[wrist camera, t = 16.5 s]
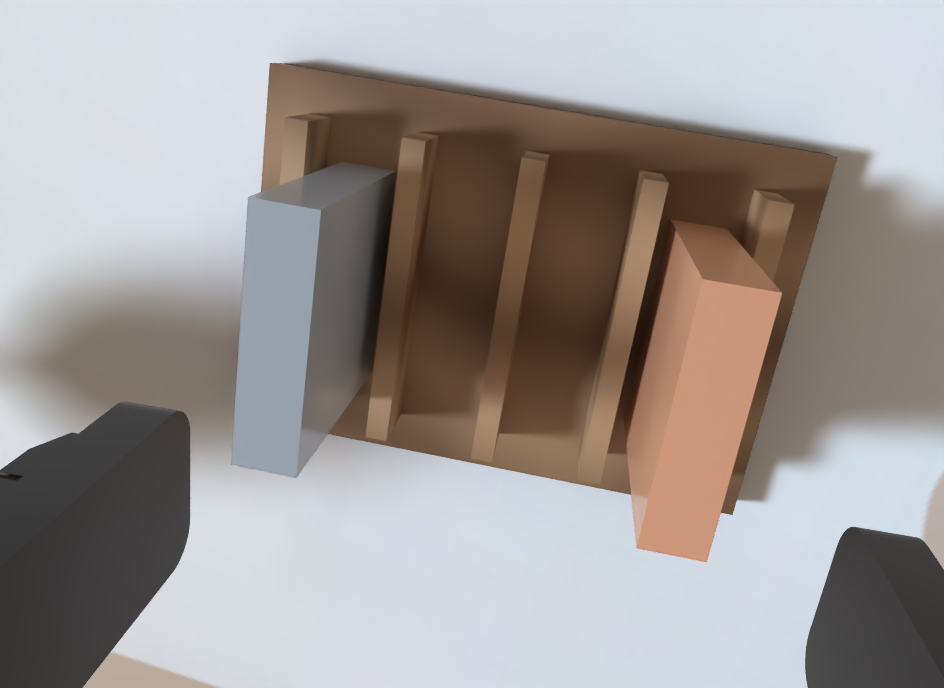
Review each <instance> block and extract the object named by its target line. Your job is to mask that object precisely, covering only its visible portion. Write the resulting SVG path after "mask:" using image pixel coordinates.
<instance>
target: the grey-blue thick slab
mask: <svg viewBox="0 0 944 688" xmlns="http://www.w3.org/2000/svg"><path fill="white" fill-rule="evenodd" d="M395 174H396V171H393V170H388V169H382V168H376V167H370V166H365V165H359V164H353V163H347V162H341V163H338V164H335V165H333V166H330V167H327V168H325V169H322V170H319V171H317V172H314V173H311V174H308V175H306V176H303V177H300V178H298V179H295V180H292V181H290V182H287V183H284V184H282V185H279V186H276V187H274V188H271V189H268V190H266V191H263V192H260V193H258V194H255V195H252V196H250V197H248V207H247V222H246V238H245V254H244V270H243V285H242V301H241V317H240V333H239V348H238V364H237V380H236V396H235V411H234V427H233V443H232V459H231V465H236V466H241V467H246V468H251V469H256V470H260V471H265V472H270V473H275V474H280V475H285V476H290V477H295V478H296V477H297V476H298V475H299V473H300V472H301V470H302V469H303V468H304V466H305V465H306V463H307V462H308V461H309V459H310V458H311V456H312V455H313V454H314V452H315V451H316V450H317V448H318V447H319V445H320V444H321V443H322V441H323V440H324V438H325V437H326V436H327V434H328V433H329V431H330V430H331V429H332V427H333V426H334V424H335V423H336V422H337V420H338V419H339V418H340V416H341V415H342V413H343V412H344V411H345V409H346V408H347V406H348V405H349V404H350V402H351V401H352V399H353V398H354V397H355V395H356V394H357V392H358V391H359V390H360V388H361V387H362V385H363V384H364V383H365V381H366V380H367V379H368V377H369V376H370V374H371V372H372V364H373V356H374V348H375V339H376V331H377V323H378V314H379V306H380V298H381V290H382V281H383V273H384V265H385V257H386V248H387V240H388V232H389V224H390V215H391V207H392V199H393V190H394V182H395Z"/></svg>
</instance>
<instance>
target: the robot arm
mask: <svg viewBox="0 0 944 688" xmlns="http://www.w3.org/2000/svg"><path fill="white" fill-rule="evenodd" d="M189 526H190V426H189V421H188V418H187V416H186V415H185V413H184V412H181V411H177V410H171V409H165V408H159V407H153V406H147V405H141V404H135V403H129V402H121V403H119V404H117V405H115V406H114V407H113V408H111V409H110V410H109V411H108V412H106V413H105V414H104V415H102V416H101V417H100V418H98V419H97V420H96V421H95V422H93V423H92V424H91V425H89V426H88V427H87V428H85V429H84V430H83V431H81V432H80V433H79V434H77V433H69V434H67V435H64V436H62V437H59V438H57V439H54V440H51V441H49V442H46V443H44V444H41V445H38V446H36V447H33V448H31V449H29V450H27V451H26V452H24V453H23V454H22V455H20V456H19V457H18V458H16V459H15V460H13V461H12V462H11V463H9V464H8V465H7V466H5V467H4V468H2V469H1V470H0V688H83V686H84V685H85V684H86V682H87V681H88V680H89V679H90V677H91V676H92V675H93V673H94V672H95V671H96V670H97V668H98V667H99V666H100V665H101V663H102V662H103V661H104V659H105V658H106V657H107V656H108V654H109V653H110V652H111V650H112V649H113V648H114V647H115V645H116V644H117V643H118V642H119V640H120V639H121V638H122V636H123V635H124V634H125V633H126V631H127V630H128V629H129V627H130V626H131V625H132V624H133V622H134V621H135V620H136V619H137V617H138V616H139V615H140V613H141V612H142V611H143V610H144V608H145V607H146V606H147V605H148V603H149V602H150V601H151V599H152V598H153V597H154V596H155V594H156V593H157V592H158V590H159V589H160V588H161V587H162V585H163V584H164V583H165V582H166V580H167V579H168V578H169V576H170V575H171V574H172V573H173V571H174V570H175V568H176V566H177V565H178V563H179V561H180V559H181V556H182V554H183V551H184V548H185V545H186V542H187V538H188V533H189ZM805 670H806V681H807V686H808V688H944V570H943V568H942V566H941V565H940V564H939V562H938V561H937V559H936V558H935V556H934V555H933V553H932V552H931V550H930V549H929V547H928V546H927V545H926V543H925V542H924V541H923V540H921V539H920V538H916V537H911V536H905V535H899V534H893V533H887V532H881V531H875V530H869V529H863V528H858V527H850V528H848V529H847V530H846V531H845V532H844V533H843V535H842V536H841V538H840V540H839V543H838V545H837V548H836V551H835V554H834V557H833V561H832V564H831V567H830V570H829V573H828V576H827V579H826V582H825V585H824V588H823V592H822V595H821V598H820V601H819V604H818V607H817V610H816V613H815V616H814V619H813V623H812V626H811V629H810V632H809V636H808V640H807V646H806V657H805Z"/></svg>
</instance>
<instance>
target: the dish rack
mask: <svg viewBox="0 0 944 688" xmlns="http://www.w3.org/2000/svg"><path fill="white" fill-rule="evenodd" d="M836 159H837V157H834V156H831V155H829V154H824V153H818V152H812V151H806V150H800V149H794V148H788V147H782V146H776V145H770V144H764V143H758V142H752V141H746V140H740V139H734V138H728V137H722V136H716V135H710V134H703V133H697V132H691V131H685V130H679V129H673V128H667V127H661V126H655V125H649V124H643V123H637V122H631V121H625V120H619V119H613V118H607V117H601V116H595V115H589V114H583V113H577V112H571V111H565V110H559V109H553V108H547V107H541V106H535V105H529V104H523V103H517V102H511V101H505V100H499V99H493V98H487V97H481V96H475V95H469V94H463V93H457V92H451V91H445V90H439V89H433V88H427V87H421V86H415V85H408V84H402V83H396V82H390V81H384V80H378V79H372V78H366V77H360V76H354V75H348V74H342V73H336V72H330V71H324V70H318V69H312V68H306V67H300V66H294V65H288V64H282V63H270V69H269V84H268V99H267V113H266V128H265V142H264V157H263V172H262V186H261V192H263V191H266V190H268V189H271V188H274V187H276V186H279V185H282V184H284V183H287V182H290V181H292V180H295V179H298V178H300V177H303V176H306V175H308V174H311V173H314V172H317V171H319V170H322V169H325V168H327V167H330V166H333V165H335V164H338V163H341V162H347V163H353V164H359V165H365V166H370V167H376V168H382V169H388V170H393V171H396V174H395V182H394V190H393V199H392V207H391V215H390V224H389V232H388V240H387V248H386V257H385V265H384V273H383V281H382V290H381V298H380V306H379V314H378V323H377V331H376V339H375V348H374V356H373V364H372V372H371V374H370V376H369V377H368V379H367V380H366V381H365V383H364V384H363V385H362V387H361V388H360V390H359V391H358V392H357V394H356V395H355V397H354V398H353V399H352V401H351V402H350V404H349V405H348V406H347V408H346V409H345V411H344V412H343V413H342V415H341V416H340V418H339V419H338V420H337V422H336V423H335V424H334V426H333V427H332V429H331V430H330V431H329V433H328V434H332V435H337V436H342V437H346V438H351V439H356V440H361V441H366V442H371V443H376V444H381V445H386V446H391V447H396V448H401V449H406V450H411V451H416V452H421V453H426V454H431V455H436V456H441V457H446V458H451V459H456V460H461V461H466V462H471V463H476V464H481V465H486V466H491V467H496V468H501V469H506V470H511V471H516V472H521V473H526V474H531V475H536V476H541V477H546V478H551V479H556V480H561V481H566V482H571V483H576V484H581V485H586V486H591V487H596V488H601V489H606V490H611V491H616V492H621V493H625V494H630V495H631V487H630V477H629V467H628V457H627V446H626V436H625V426H624V421H625V416H626V412H627V408H628V403H629V399H630V395H631V390H632V386H633V381H634V377H635V373H636V368H637V364H638V359H639V355H640V351H641V346H642V342H643V337H644V333H645V329H646V324H647V320H648V315H649V311H650V307H651V302H652V298H653V293H654V289H655V285H656V280H657V276H658V271H659V267H660V263H661V258H662V254H663V249H664V245H665V241H666V236H667V232H668V227H669V223H670V219H672V220H678V221H684V222H690V223H696V224H702V225H708V226H714V227H720V228H726V229H728V231H729V232H730V233H731V234H732V235H733V236H734V238H735V239H736V240H737V241H738V242H739V243H740V244H741V246H742V247H743V248H744V249H745V250H746V251H747V253H748V254H749V255H750V256H751V257H752V258H753V260H754V261H755V262H756V263H757V264H758V265H759V267H760V268H761V269H762V270H763V271H764V272H765V273H766V275H767V276H768V277H769V278H770V279H771V280H772V282H773V283H774V284H775V285H776V286H777V287H778V289H779V290H780V291H781V292H782V296H781V299H780V303H779V307H778V310H777V314H776V317H775V321H774V324H773V328H772V331H771V335H770V339H769V342H768V346H767V349H766V353H765V356H764V360H763V364H762V367H761V371H760V374H759V378H758V381H757V385H756V389H755V392H754V396H753V399H752V403H751V406H750V410H749V413H748V417H747V421H746V424H745V428H744V431H743V435H742V438H741V442H740V446H739V449H738V453H737V456H736V460H735V463H734V467H733V470H732V474H731V478H730V481H729V485H728V488H727V492H726V495H725V499H724V503H723V506H722V510H721V513H725V514H730V515H733V511H734V508H735V504H736V501H737V498H738V494H739V491H740V487H741V484H742V480H743V477H744V474H745V470H746V467H747V463H748V460H749V457H750V453H751V450H752V446H753V443H754V439H755V436H756V433H757V429H758V426H759V422H760V419H761V416H762V412H763V409H764V405H765V402H766V398H767V395H768V392H769V388H770V385H771V381H772V378H773V375H774V371H775V368H776V364H777V361H778V358H779V354H780V351H781V347H782V344H783V340H784V337H785V334H786V330H787V327H788V323H789V320H790V317H791V313H792V310H793V306H794V303H795V299H796V296H797V293H798V289H799V286H800V282H801V279H802V276H803V272H804V269H805V265H806V262H807V258H808V255H809V252H810V248H811V245H812V241H813V238H814V235H815V231H816V228H817V224H818V221H819V218H820V214H821V211H822V207H823V204H824V200H825V197H826V194H827V190H828V187H829V183H830V180H831V177H832V173H833V170H834V166H835V163H836Z"/></svg>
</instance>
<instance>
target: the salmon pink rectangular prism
mask: <svg viewBox="0 0 944 688" xmlns="http://www.w3.org/2000/svg"><path fill="white" fill-rule="evenodd" d="M781 296H782V292H781V291H780V290H779V289H778V287H777V286H776V285H775V284H774V283H773V282H772V280H771V279H770V278H769V277H768V276H767V275H766V273H765V272H764V271H763V270H762V269H761V268H760V267H759V265H758V264H757V263H756V262H755V261H754V260H753V258H752V257H751V256H750V255H749V254H748V253H747V251H746V250H745V249H744V248H743V247H742V246H741V244H740V243H739V242H738V241H737V240H736V239H735V238H734V236H733V235H732V234H731V233H730V232H729V231H728V229H726V228H720V227H714V226H708V225H702V224H696V223H690V222H684V221H678V220H672V219H670V223H669V227H668V232H667V236H666V241H665V245H664V249H663V254H662V258H661V263H660V267H659V271H658V276H657V280H656V285H655V289H654V293H653V298H652V302H651V307H650V311H649V315H648V320H647V324H646V329H645V333H644V337H643V342H642V346H641V351H640V355H639V359H638V364H637V368H636V373H635V377H634V381H633V386H632V390H631V395H630V399H629V403H628V408H627V412H626V416H625V421H624V426H625V436H626V446H627V457H628V467H629V477H630V487H631V498H632V508H633V518H634V528H635V538H636V548H638V549H643V550H648V551H653V552H658V553H663V554H668V555H673V556H678V557H683V558H688V559H693V560H698V561H703V562H707V560H708V556H709V552H710V549H711V545H712V542H713V538H714V535H715V531H716V528H717V524H718V520H719V517H720V513H721V510H722V506H723V503H724V499H725V495H726V492H727V488H728V485H729V481H730V478H731V474H732V470H733V467H734V463H735V460H736V456H737V453H738V449H739V446H740V442H741V438H742V435H743V431H744V428H745V424H746V421H747V417H748V413H749V410H750V406H751V403H752V399H753V396H754V392H755V389H756V385H757V381H758V378H759V374H760V371H761V367H762V364H763V360H764V356H765V353H766V349H767V346H768V342H769V339H770V335H771V331H772V328H773V324H774V321H775V317H776V314H777V310H778V307H779V303H780V299H781Z"/></svg>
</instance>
